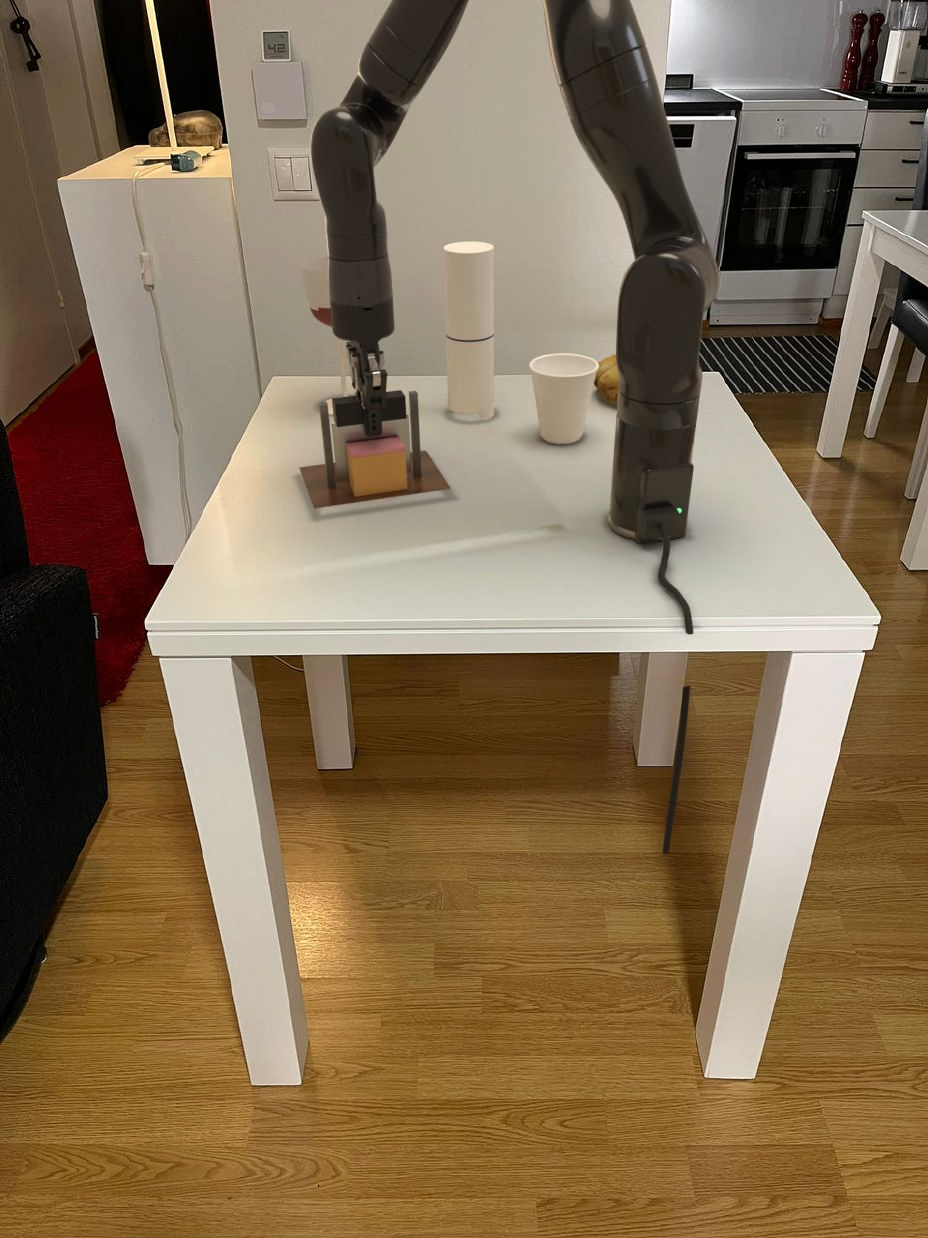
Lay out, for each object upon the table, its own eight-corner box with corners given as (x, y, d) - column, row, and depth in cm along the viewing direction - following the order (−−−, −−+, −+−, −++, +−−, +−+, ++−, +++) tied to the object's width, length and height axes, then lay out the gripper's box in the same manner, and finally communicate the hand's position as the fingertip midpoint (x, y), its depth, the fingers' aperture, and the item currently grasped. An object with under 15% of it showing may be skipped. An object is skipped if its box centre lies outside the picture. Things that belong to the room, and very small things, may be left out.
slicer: (451, 498, 127) (449, 403, 120) (315, 518, 123) (304, 422, 116) (426, 459, 137) (422, 370, 130) (300, 477, 133) (289, 385, 126)
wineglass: (310, 400, 157) (295, 260, 145) (367, 392, 160) (356, 254, 148) (323, 419, 151) (308, 274, 138) (382, 410, 153) (372, 267, 141)
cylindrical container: (443, 420, 149) (437, 251, 136) (454, 404, 155) (450, 240, 141) (488, 424, 148) (487, 253, 134) (498, 407, 154) (498, 242, 140)
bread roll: (660, 413, 150) (665, 363, 146) (597, 414, 150) (601, 364, 146) (647, 384, 161) (651, 337, 156) (588, 385, 161) (591, 338, 157)
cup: (597, 450, 139) (602, 375, 133) (528, 450, 139) (530, 376, 133) (591, 423, 147) (595, 352, 141) (526, 424, 148) (527, 353, 142)
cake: (407, 489, 126) (405, 446, 123) (354, 497, 124) (350, 453, 121) (390, 459, 134) (387, 418, 131) (340, 466, 132) (336, 424, 129)
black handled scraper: (413, 475, 128) (409, 395, 122) (338, 485, 126) (331, 405, 120) (409, 468, 130) (404, 389, 124) (335, 478, 128) (327, 398, 122)
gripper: (320, 282, 120) (333, 415, 129) (340, 312, 109) (352, 455, 118) (379, 276, 121) (387, 408, 131) (405, 306, 110) (412, 447, 120)
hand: (371, 430), depth 125 cm, fingers closed on black handled scraper, 2 cm apart
